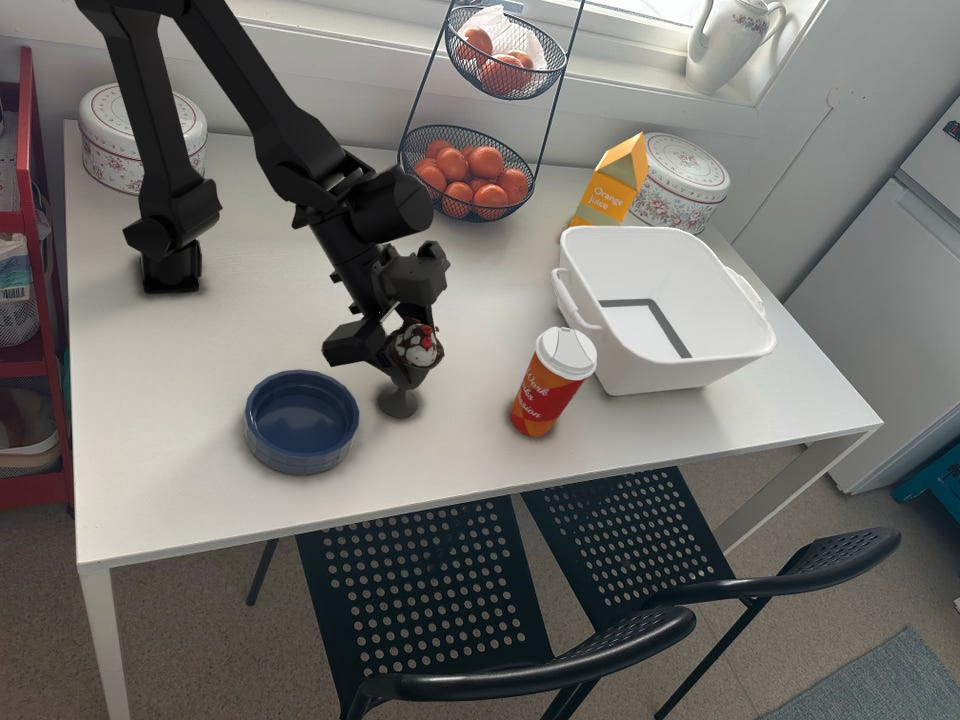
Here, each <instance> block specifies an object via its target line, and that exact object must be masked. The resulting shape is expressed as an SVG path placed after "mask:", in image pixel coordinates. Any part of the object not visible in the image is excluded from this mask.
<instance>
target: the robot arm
mask: <svg viewBox="0 0 960 720" xmlns="http://www.w3.org/2000/svg"><path fill="white" fill-rule="evenodd" d="M73 1H74V4H75V6H76V8H77V9H78V11H79V12H80V13H81V14H82V15H83V16H84V17H85V18H86V19H87V20H88V21H89V22H90V23H91V24H92V25H93V26H94V27H95V28H96V30H98V32H99V33H101V35H102V37H103V40H104V41H105V46H106V49H107V51H108V54H109V58H110V62H111V65H112V68H113V73H114V76H115V78H116V81H117V85H118V88H119V92H120V94H121V99H122V101H123V106H124V109H125V111H126V115H127V118H128V121H129V125H130V128H131V131H132V135H133V139H134V142H135V146H136V148H137V151H138V156H139V158H140V161H141V164H142V168H143V177H142V181H141V185H140V189H139V193H138V197H137V202H138V208H139V213H140V218H139V219H137V220H135V221H134V222H132V223H131V224H129V225H127V226H125V227H124V228H122V230H121V232H122V234H123V237H124V239H125V241H126V244H127V246H129V247H130V248H133V249H134V250H136V251H138V252H140V256H139V258H138V259H139V268H140V275H141V283H142V289H143V292H144V293H146V294H160V293H182V292H197V291H199V290H200V282H199V281H200V280H199V278H202V276H203V252H202V247H201V242H200V240H199V239H197V238H198V237H200V236H202V235H203V234H205V233H206V232H207V231H209V230H211V229H212V228H213V227H215V225H216V224H217V223H218V222H219V221H220V218H221V215H220V213H221V212H220V211H222V210H223V209H224V206H222V204H221V202H220V199H219V196H218V190H217V189H218V188H217V183H216V182H215V180H214V179H213V178H205V177H204V175H202V174H201V173H200V172H199V171H198V170H197V169H196V168H195V167H194V166H193V165H192V162H191V159H190V155H189V151H188V147H187V143H186V139H185V135H184V132H183V128H182V124H181V120H180V119H181V118H180V116H179V112H178V108H177V104H176V100H175V97H174V93H173V88H172V84H171V81H170V77H169V73H168V69H167V65H166V60H165V57H164V52H163V49H162V44H161V41H160V37H159V31H158V30H159V29H158V28H159V25H160V21H161V16H164V17H167V18H170V19H172V20H173V21H174V23H175V24H176V26H177V27H178V28H179V30H180V31H181V33H182V34H183V36H184V37H185V39H186V40H187V41H188V43H189V45H191V47H192V49H193V50H194V51H195V53H196V54H197V56H198V57H199V58H200V60H201V61H202V63H203V64H204V65H205V67H206V69H207V70H208V71H209V73H210V74H211V75H212V77H213V78H214V80H215V81H216V82H217V84H218V85H219V86H220V89H221V90H222V91H223V93H224V94H225V95H226V97H227V98H228V99H229V101H230V103H231V104H232V106H233V107H234V108H235V109H236V111H237V112H238V114H239V115H240V117H241V118H242V120H243V121H244V122H245V124H246V125H247V127H248V129H249V131H250V133H251V135H252V138H253V139H252V140H253V144H254V153H255V158H256V161H257V163H258V164H259V167H260V168H261V170H262V172H263V173H264V176H265V177H266V179H267V181H268V183H269V184H270V186H271V188H272V189H273V191H274V192H275V194H276V195H277V196H278V197H279V198H280V199H282V200H283V201H284V202H286V203H287V202H290V203H292V204H294V205H295V206H294V207H295V208H294V209H295V211H294V216H293V217H292V218H293V219H292V221H291V228H292V229H293V230H295V231H296V230H299V229H302V228H305V227H309V229H310V230H311V232H312V234H313V235H314V237H315V240H316V241H317V243H318V244H319V246H320V247H321V249H322V251H323V252H324V254H325V255H326V258H327V259H328V261H329V262H330V264H331V266H332V268H333V269H334V270H333V271H332V272H331V273H330V274H329V275H328V276H329V278H330V280H331V282H332V283H333V284H337V283H342V284H343V286H344V288H345V289H346V291H347V292H348V294H349V296H350V297H351V299H352V301H353V302H352V303H351V304H350V305H348V310H349V312H350V313H351V315H352V316H354V315H355V316H356V315H359V314H361V315H362V317H361V318H360V319H359V320H355V321H351V322H346V323H342V324H339V325H338V326H337V327H336V328H335V329H334V330H333V331H332V332H331V333H330V334H329V336H327V338H325V340H323V342H322V344H321V349H320V350H321V351H320V352H321V354H322V356H323V357H324V359H325V360H326V362H327V363H328V365H329V366H330V368H334V367H340V366H345V365H346V366H347V365H351V364H357V363H362V362H363V363H366V364H368V365H370V366H372V367H374V368H375V369H377V370H379V371H380V372H382V373H383V374H385V375H386V376H388V377H391V378H393V379H394V380H396V381H398V382H399V383H401V384H402V385H404V386H408V385H411V384H412V380H411V377H410V375H409V372H408V370H407V368H406V367H405V365H404V363H403V361H402V359H401V357H400V355H399V353H398V351H397V349H396V347H395V344H396V340H397V336H398V334H397V333H395V334H390V333H389V334H388V333H387V331H386V329H385V327H384V324H383V323H384V322H385V321H386V320H387V318H388V317H389V316H390V315H392V313H393V312H394V311H395V312H396V314H397V315H398V316H399V318H401V320H402V322H403V321H404V318H405V317H406V316H408V317H411V318H414V319H416V320H419V321H420V324H424V325H427V326H430V327H431V328H435V323H434V316H433V307H432V306H433V305H434V304H435V303H436V302H437V300H438V298H439V296H440V295H441V294H442V293H443V292H444V291H446V290H447V288H448V282H447V275H446V272H448V270H449V268H450V267H451V262H450V260H448V259H447V255H446V252H445V251H444V248H442V246H441V245H440V243H439V241H437V240H430V239H427V240H425V241H424V242H423V243H422V244H421V246H420V247H418V249H417V253H416V252H414V251H412V252H411V253H410V254H409V255H408V256H405V255H401V254H400V253H399V252H398V250H397V248H396V246H394V245H392V243H391V242H392V241H395V240H400V239H402V238H406V237H409V236H412V235H416V234H418V233H419V234H420V233H422V232H425V231H427V230H429V229H430V227H431V226H432V224H433V220H434V216H435V215H434V214H435V209H434V202H433V198H432V195H431V193H430V191H429V188H428V187H427V186H426V185H425V184H424V183H422V181H421V180H420V179H419V178H418V177H416V176H415V175H413V174H411V173H405V170H404V168H403V166H402V165H401V163H399V162H397V163H394V164H392V165H390V166H388V167H386V168H385V169H384V170H382V171H380V172H377V170H376V169H375V168H373V167H372V166H371V165H369V164H367V163H366V162H365V161H363V160H362V159H360V158H359V157H357V156H356V155H355V154H353V153H352V152H350V151H348V150H347V149H345V148H344V147H342V146H341V144H340V143H339V141H338V140H337V138H335V137H334V136H333V134H332V133H331V132H330V131H329V130H328V129H327V127H325V125H324V124H323V122H322V121H321V120H319V118H317V117H315V116H314V115H312V114H311V113H309V112H307V111H305V110H304V109H302V108H301V107H299V106H298V105H297V104H296V103H295V101H294V100H293V99H292V98H291V97H290V95H289V94H288V93H287V91H286V90H285V88H284V87H283V85H282V84H281V82H280V81H279V79H278V78H277V77H276V75H275V74H274V71H272V69H271V67H270V66H269V63H267V61H266V59H264V57H263V55H262V54H261V52H260V51H259V50H258V48H257V46H256V45H255V43H254V42H253V40H252V39H251V37H250V36H249V34H248V32H246V30H245V29H244V26H242V24H241V23H240V21H239V20H238V18H237V16H236V15H235V14H234V12H233V11H232V9H231V8H230V6H229V5H228V3H227V1H226V0H73ZM435 330H436V329H432V331H435ZM433 334H434V335H435V336H436V337H437V332H433ZM391 378H390V379H391Z"/></svg>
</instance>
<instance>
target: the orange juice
mask: <svg viewBox="0 0 960 720" xmlns="http://www.w3.org/2000/svg"><path fill="white" fill-rule="evenodd" d="M645 142H646V141H645V136H644V130H642V131H641V132H640V133H638V134H635V135H634V136H632V137H630V138H628V139H626V140H625V141H623V142H621V143H619V144H617V145H616V146H614V147H612V148H609V149H608V150H606V152H605V153H604V154H603V157H602V158H601V160H600V161H599V163H598V164H597V166H596V167H595V168H594V171H593V173H592V176H591V177H590V179H589V181H588V184H587V186H586V189H585V190H584V193H583V195H582V197H581V199H580V201H579V203H578V205H577V207H576V209H575V211H574V214H573V216H572V218H571V221H570V223H569V225H568V227H567V229H568V228H570V227H575V226H622V223H623V221H624V220H625V219H624V218H625V217H626V216H627V213H628V211H629V210H630V207H631V206H632V204H633V202H634V201H635V198H636V197H637V195H638V193H639V192H640V190H641V188H642V187H643V185H644V183H645V181H646V179H647V176H648V175H649V172H650V169H649V163H648V162H649V160H648V154H647V149H646V143H645Z"/></svg>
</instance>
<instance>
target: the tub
mask: <svg viewBox="0 0 960 720" xmlns="http://www.w3.org/2000/svg"><path fill="white" fill-rule="evenodd" d="M559 251H560V252H559V267H557V268H554V269H552V271H551V272H550V280H551V286H552V289H553V291H554V294H555V296H556V298H557V309H558V311H559V313H560V316H561V317H562V318H563V320H564V322H565V324H566V325H567V328H570V330H573V329H575V330H578V331H579V332H581V333H583V334H584V335H585V336H587V337H588V338H589V339H590V340H591V342H592V343H593V344H594V346H595V349H596V352H597V359H596V361H597V365H596V369H595V371H594V372H593V375H594V376H595V378H596V380H597V381H598V383H599V385H600V387H601V388H602V390H603V392H604V394H605V395H607V396H608V397H612V398H617V397H625V396H635V395H644V394H653V393H663V392H672V391H681V390H691V389H701V388H705V387H707V386H710V385H712V384H713V383H716V382H717V381H719V380H721V379H722V378H723V379H724V378H725V377H727V376H729V375H730V374H733V373H734V372H736V371H739V370H740V369H742V368H744V367H746V366H748V365H750V364H751V363H754V362H755V361H758V360H759V359H761V358H763V357H765V356H769V355H772V354H773V352H774V350H775V349H776V348H777V346H778V343H777V336H776V333H775V331H774V329H773V327H772V326H771V323H770V322H769V321H768V320H767V315H768V314H767V311H766V309H765V307H764V302H763V300H762V299H761V297H760V296H759V295H758V293H757V291H755V289H754V288H753V286H752V285H751V284H750V283H749V282H748V281H747V279H745V277H744V276H743V275H739V274H738V273H737V272H735V270H733V269H732V268H730V267H728V266H725V265H724V263H723V262H722V261H721V260H720V258H719V257H718V256H717V255H716V254H715V252H714V251H713V250H712V249H711V248H710V247H709V246H708V245H707V244H706V243H705V242H704V241H703V240H702V239H700V238H699V237H697V236H695V235H693V234H692V233H690V232H688V231H685V230H682V229H679V228H675V227H669V226H638V225H637V226H635V225H634V226H632V225H620V226H575V227H570V228H568V227H567V229H565V230H564V231H562V232H561V235H560V239H559Z"/></svg>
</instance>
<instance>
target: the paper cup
mask: <svg viewBox="0 0 960 720" xmlns="http://www.w3.org/2000/svg"><path fill="white" fill-rule="evenodd" d="M596 359H597V352H596V349H595V346H594V344H593V343H592V342H591V340H590V339H589V338H588V337H587V336H585V335H584V334H583V333H581V332H579V331H578V330H575V329H573V330H570V328H569V327H565V326H560V327H558V326H552V327H549V328H548V329H547V330H545V331H544V332H543V333H540V334H539V336H538V337H537V338H536V339H535V344H534V352H533V354H532V357H531V359H530V362H529V364H528V366H527V369H526V371H525V373H524V376H523V378H522V381H521V383H520V386H519V389H518V391H517V393H516V396H515V398H514V401H513V404H512V407H511V410H510V420H511V423H512V425H513V426H514V427H515V428H516V429H517V430H518V432H520V433H522V434H524V435H526V436H529V437H542V436H544V435H545V434H547V433H548V432H549V431H550V430H551V428H552V427H554V424H555V423H556V422H557V421H558V419H559V418H560V416H561V415H562V414H563V412H564V411H565V409H566V408H567V407H568V405H569V403H570V402H571V401H572V399H573V398H574V397H575V395H576V393H577V392H578V391H579V389H580V388H581V387H582V385H583V383H584V382H585V380H586V379H588V377H590V376H591V375H593V374H594V371H595V369H596V365H597V361H596Z"/></svg>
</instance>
